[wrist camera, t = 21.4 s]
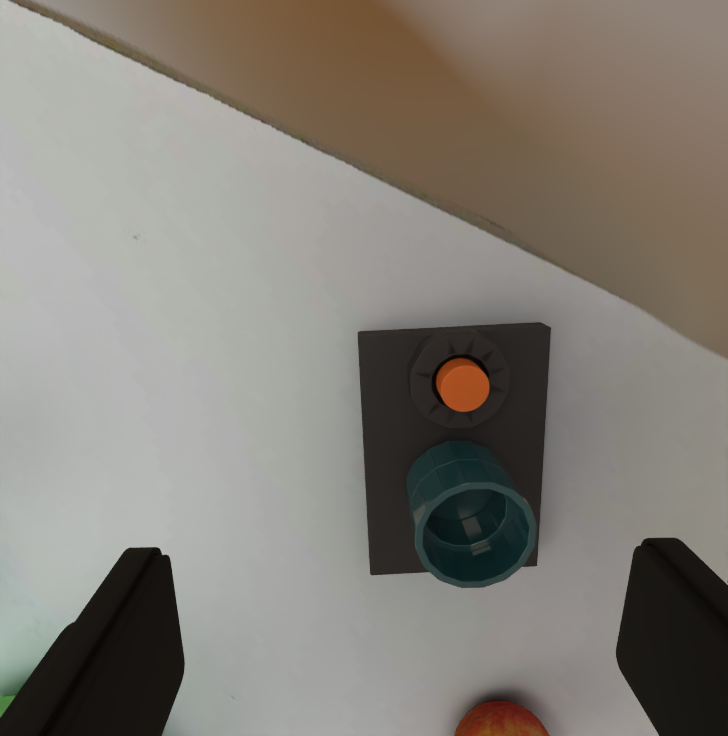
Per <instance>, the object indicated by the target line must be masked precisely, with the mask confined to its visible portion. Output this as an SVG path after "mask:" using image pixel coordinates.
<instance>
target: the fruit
mask: <svg viewBox="0 0 728 736" xmlns="http://www.w3.org/2000/svg"><path fill="white" fill-rule="evenodd" d="M454 736H550V735H549V734H548V732H547V730H546V729H545V727H544V725H543V724H542V723H541V721H540V720H539V719H538V718H537V717H536V716H535V715H534V714H533V713H532V712H531V711H529V710H527V709H525V708H524V707H522V706H518V705H516V704H514V703H511V702H506V701H492V702H486V703H483V704H481V705H479V706H477V707H475V708H474V709H472V710H471V711H470V712H469V713H468V714H466V716H465V717H464V718H463V719H462V720H461V722H460V723H459V725H458V727H457V729H456V732H455V735H454Z"/></svg>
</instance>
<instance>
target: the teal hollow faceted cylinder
mask: <svg viewBox="0 0 728 736" xmlns="http://www.w3.org/2000/svg"><path fill="white" fill-rule="evenodd" d="M405 497H406V503H407V508H408V513H409V518H410V524H411V529H412V534H413V539H414V544H415V549H416V551H417V553H418V555H419V558H420V560H421V562H422V564H423V566H424V567H425V568H426V569H427V570H428V571H429V572H430V573H432V574H433V575H434V576H435V577H436V578H437V579H438V580H440V581H443V582H445V583H448V584H451V585H454V586H457V587H461V588H480V587H486V586H489V585H492V584H495V583H498V582H501V581H503V580H505V579H507V578H508V577H510V576H511V575H512V574H513V573H515V572H516V571H517V570H518V569H520V568H521V567H522V566H523V565H524V564H525V562H526V560H527V559H528V557H529V555H530V554H531V552H532V550H533V549H534V546H535V539H536V530H537V524H536V521H535V518H534V515H533V513H532V510H531V507H530V505H529V504H528V502H527V501H526V499H525V497H524V496H523V494H522V493H521V491H520V490H519V488H518V487H517V485H516V484H515V482H514V481H513V479H512V477H511V476H510V474H509V473H508V471H507V470H506V468H505V467H504V465H503V463H502V462H501V461H500V460H499V459H498V458H497V457H496V456H495V455H494V454H493V453H492V452H491V451H490V450H489V449H488V448H487V447H484V446H481V445H479V444H476V443H474V442H471V441H447V442H445V443H442V444H439V445H437V446H434V447H431V448H430V449H428V450H427V451H426V452H424V453H423V454H422V455H421V456H420V457H419V458H418V459H417V460H415V462H414V463H413V465H412V467H411V469H410V471H409V473H408V475H407V477H406V488H405Z"/></svg>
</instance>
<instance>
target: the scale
mask: <svg viewBox="0 0 728 736" xmlns="http://www.w3.org/2000/svg"><path fill="white" fill-rule="evenodd" d="M550 332H551V327H549V326H547V325H545V324H543V323H541V322H536V323H517V324H497V325H478V326H458V327H439V328H419V329H400V330H380V331H360V332H358V348H359V367H360V386H361V406H362V425H363V444H364V463H365V482H366V501H367V520H368V540H369V559H370V574H371V575H383V574H402V573H420V572H429V571H428V570H427V569H426V568H425V567H424V566H423V564H422V562H421V560H420V558H419V555H418V553H417V551H416V549H415V544H414V539H413V534H412V529H411V524H410V518H409V513H408V508H407V503H406V497H405V488H406V477H407V475H408V473H409V471H410V469H411V467H412V465H413V463H414V462H415V460H417V459H418V458H419V457H420V456H421V455H422V454H423V453H424V452H426V451H427V450H428V449H430V448H431V447H434V446H437V445H439V444H442V443H445V442H447V441H471V442H474V443H476V444H479V445H481V446H484V447H487V448H488V449H489V450H490V451H491V452H492V453H493V454H494V455H495V456H496V457H497V458H498V459H499V460H500V461H501V462H502V463H503V465H504V467H505V468H506V470H507V471H508V473H509V474H510V476H511V477H512V479H513V481H514V482H515V484H516V485H517V487H518V488H519V490H520V491H521V493H522V494H523V496H524V497H525V499H526V501H527V502H528V504H529V505H530V507H531V510H532V513H533V515H534V518H535V521H536V524H537V530H536V539H535V546H534V549H533V550H532V552H531V554H530V555H529V557H528V559H527V560H526V562H525V564H524V565H523V566H522V567H529V566H537V557H538V540H539V522H540V505H541V488H542V470H543V453H544V436H545V419H546V401H547V384H548V367H549V349H550ZM457 358H464V359H468V360H471V361H473V362H474V363H475V364H477V365H478V367H479V368H480V369H481V370H482V371H483V372H484V373H485V374H486V376H487V378H488V380H489V386H490V388H489V394H488V396H487V398H486V400H485V401H484V403H483V404H482V405H481V406H479V407H478V408H476V409H474V410H472V411H467V412H460V411H455V410H453V409H451V408H450V407H448V406H447V405H446V404H445V402H444V401H443V399H442V397H441V395H440V394H439V392H438V389H437V386H436V378H437V374H438V372H439V370H440V369H441V367H442V366H443V365H444V364H445V363H447V362H449V361H450V360H453V359H457Z"/></svg>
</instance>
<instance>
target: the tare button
mask: <svg viewBox="0 0 728 736" xmlns="http://www.w3.org/2000/svg"><path fill="white" fill-rule="evenodd" d="M436 386H437V389H438V392H439V394H440V395H441V397H442V399H443V401H444V402H445V404H446V405H447V406H448V407H450V408H451V409H453V410H455V411H460V412H467V411H472V410H474V409H476V408H478V407H479V406H481V405H482V404H483V403H484V401H485V400H486V398H487V396H488V394H489V388H490V386H489V380H488V378H487V376H486V374H485V373H484V372H483V371H482V370H481V369H480V368H479V367H478V365H477V364H475V363H474V362H473V361H471V360H468V359H464V358H457V359H453V360H450V361H449V362H447V363H445V364H444V365H443V366H442V367H441V369H440V370H439V372H438V374H437V378H436Z"/></svg>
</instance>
